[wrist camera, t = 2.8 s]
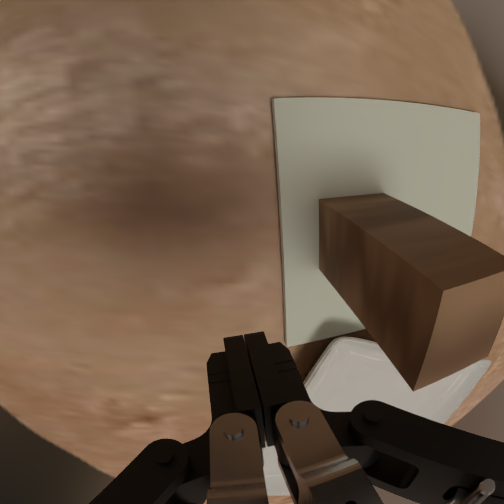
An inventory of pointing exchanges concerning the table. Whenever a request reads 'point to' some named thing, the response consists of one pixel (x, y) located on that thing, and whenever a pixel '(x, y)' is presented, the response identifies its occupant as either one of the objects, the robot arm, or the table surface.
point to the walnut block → (412, 283)
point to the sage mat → (361, 185)
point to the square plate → (372, 390)
